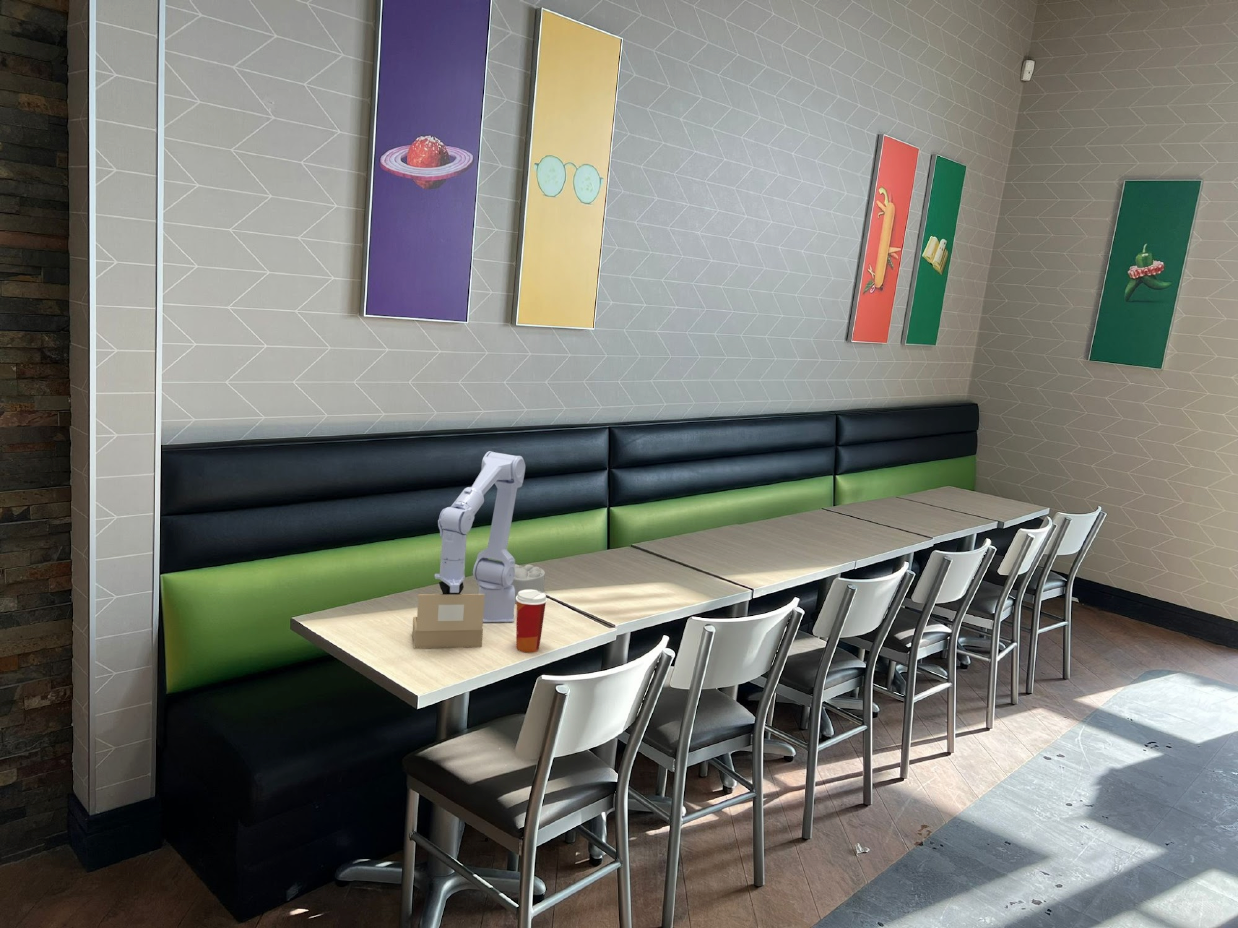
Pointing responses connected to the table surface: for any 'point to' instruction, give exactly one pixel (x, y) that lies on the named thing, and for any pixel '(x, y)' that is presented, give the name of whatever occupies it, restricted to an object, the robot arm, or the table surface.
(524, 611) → the paper cup
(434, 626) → the lid flap
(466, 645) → the kraft box
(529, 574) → the clear tub of eggs
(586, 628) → the table surface
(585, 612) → the table surface
